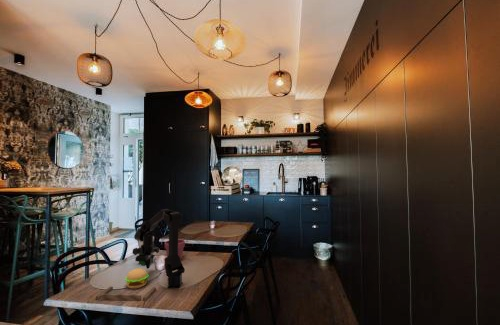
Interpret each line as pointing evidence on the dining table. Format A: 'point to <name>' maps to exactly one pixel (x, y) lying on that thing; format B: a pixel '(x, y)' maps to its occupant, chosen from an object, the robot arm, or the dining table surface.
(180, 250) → the plant pot
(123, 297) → the frame
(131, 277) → the hamburger
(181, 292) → the dining table surface
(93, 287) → the dining table surface
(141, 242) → the milk carton
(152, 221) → the robot arm
